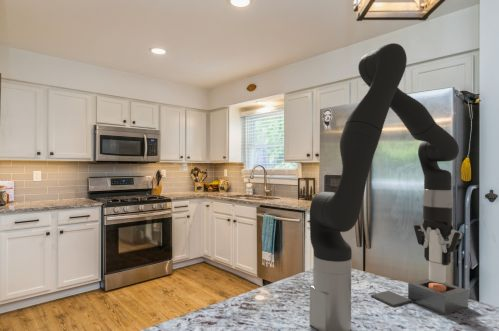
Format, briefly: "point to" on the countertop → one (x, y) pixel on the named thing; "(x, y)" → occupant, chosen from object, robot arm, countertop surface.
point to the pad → (391, 298)
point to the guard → (438, 296)
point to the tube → (436, 259)
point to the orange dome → (437, 287)
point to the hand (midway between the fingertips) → (437, 262)
